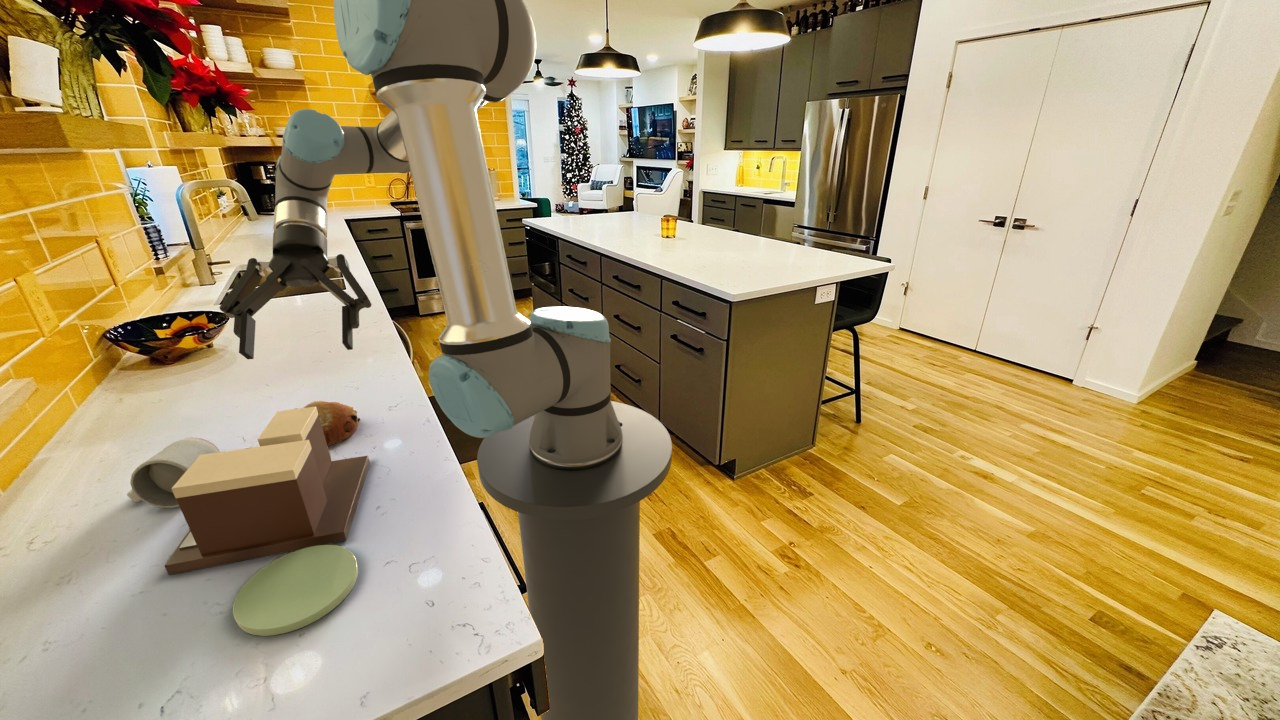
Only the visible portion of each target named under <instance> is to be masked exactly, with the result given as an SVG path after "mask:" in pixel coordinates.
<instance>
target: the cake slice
mask: <svg viewBox="0 0 1280 720" xmlns="http://www.w3.org/2000/svg"><path fill="white" fill-rule="evenodd" d="M303 440H309V441H310V445H311V448H312V451H313V455H314V458H315V461H316V465H317V468H318V471H319V475H320V478H321V481H322V485H323V483H324V480H325V478H326V475H327V473H328V471H329V468H330V466H331V464H332V461H333V460H332V456H331V454H330V451H329V446H327V443H326V440H325V436H324V433H323V429H322V426H321V422H320V419H319V415H318V411H317V408H316V407H308V408H303V407H301V408H293V409H285V410H278V411H276V413H275V414H274V415H273V416H272V418H271V420H270V421H269V422H268V423H267V425H266V427H265V428H264V429H263V431H262V432H261V433H260V435H259V437H258V438H257V442H258V445H259V447H260V446H267V445H275V444H282V443H289V442H296V441H303Z"/></svg>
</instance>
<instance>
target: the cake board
mask: <svg viewBox="0 0 1280 720" xmlns="http://www.w3.org/2000/svg"><path fill="white" fill-rule="evenodd" d="M331 461H332V464H331V466H330V468H329V471H328V473H327V475H326V478H325V480H324V483H323V488H324V491H325V495H326V498H327V502H326V505H325V508H324V510H323V513H322V515H321V518H320V520H319V523H318V526H317V528H316V531H315V533H314V535H309V536H304V537H298V538H293V539H288V540H282V541H277V542H272V543H267V544H261V545H256V546H251V547H245V548H240V549H235V550H229V551H224V552H219V553H213V554H208V555H203V556H202V555H201V553H200V551H199V549H198V547H191V548H186V549H179V547H180V546H181V544H182V543H183V541H184V540H185V539H186V537H187V536H188V534H189V533H190V532H191V531H190V529H189V530H188V531H187V533H186V534H185V536H184V537H183V539H182V540H181V541H180V543H179V544H178V546H177V547H176V548H175V550H174V551H173V552H172V554H171V555H170V557H169V558H168V560H167V561H166V562H165V564H164V568H165V571H166V573H167V574H168V575H169V576H172V575H177V574H181V573H186V572H191V571H197V570H203V569H207V568H212V567H217V566H222V565H223V566H224V565H228V564H232V563H237V562H238V563H239V562H243V561H247V560H253V559H259V558H263V557H268V556H274V555H279V554H284V553H285V554H286V553H291V552H294V551H297V550H300V549H303V548H307V547H311V546H317V545H332V544H335V543H341V542H346V541H348V537H349V534H350V530H351V528H352V524H353V520H354V517H355V513H356V511H357V507H358V504H359V501H360V497H361V495H362V491H363V488H364V484H365V482H366V478H367V474H368V471H369V467H370V464H371V461H370V458H369V455H362V456H355V457H350V458H349V457H347V458H342V459H336V460H331Z"/></svg>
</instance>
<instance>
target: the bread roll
mask: <svg viewBox="0 0 1280 720" xmlns="http://www.w3.org/2000/svg"><path fill="white" fill-rule="evenodd" d="M308 407H316V408H317V411H318V415H319V419H320V422H321V426H322V429H323V433H324V436H325V440H326V443H327V447H329V446H333V445H335V444H336V445H337V444H339V443H341V442H343V441H345V440H347V439H349V438H350V437H352V436H353V435H354V434H355V432H356V431H357V429H358V427H359V422H361V418H360V417H358V411H357V410H355V409H354V407H353V406H349V405H347V404H343V403H340V402H337V401H325V400H315V401H312V402H310V403H308V404H306V405H304V406H303V407H302V408H308Z"/></svg>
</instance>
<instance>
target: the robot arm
mask: <svg viewBox="0 0 1280 720" xmlns="http://www.w3.org/2000/svg"><path fill="white" fill-rule="evenodd" d="M333 19H334V27H335V33H336V38H337V42H338V45H339V48H340V50H341V53H342V55H343V56H344V58H345V59H346V62H347V64H348V65H349V66H350V67H351V69H353V70H355V71H356V72H358V73H361V75H365V76H371V80H372V83H373V87H374V90H375V95H376V98H377V100H378V101H379V102H380V103H382V104H383V105H384V106H385V107H387V108H388V109H389V110H390V112H389V113H388V114H387V115H386V116H385V117H384V118H383V119H382V120H381V121H380V122H379V123H378V124H377V125H376V126H354V125H353V126H351V125H340V124H339V122H338V121H336V120H335V119H334V118H333V117H331V116H330V115H329V114H327V113H322V112H318V110H317V109H311V108H303V109H299V110H297V111H294V112H293V113H292V114H291V115H290V116H289V118H288V121H287V123H286V125H285V128H284V131H283V134H282V144H281V155H279V156H278V158H277V160H276V161H277V162H276V166H275V171H274V179H275V189H274V191H275V193H274V194H275V195H274V198H275V199H274V213H273V227H272V228H273V234H272V257H271V259H270V260H269V261H260V260H258V259H257V258H255V257H250V258H249V259H247V265H246V269H245V271H244V272H243V274H242V275H241V276H240V278H239V280H238V281H237V282H236V283H235V285H234V286H233V288H232V289H231V290H230V292H229V293H228V295H226V297H225V299H224V300H223V301H222V303H221V304H220V306H219V310H220V311H221V312H222V313H223V314H224V315H225V316H227V317H228V318H230V319H234V320H233V334H234V335H235V336H237V338H238V339H239V343H238V344H239V347H238V353H239V354H240V355H241V356H243V358H245V359H246V360H254V359H255V358H254V356H255V341H256V339H255V338H256V323H257V321H256V319H254V318H253V317H254V316H255V314H256V313H258V312H259V311H260V310H261V309H262V308H263V307H264V306H265V305H266V304H267V303H268V302H270V301H271V300H272V299H273V298H274V297H275V296H276V295H277V294H278V293H280V292H283V291H285V289H287V288H288V287H290V288H299V287H302V286H303V287H314V285H316V284H319V285H320V286H321V287H322V288H324V289H325V290H327V291H328V292H329V293H330V294H331V295H332V296H334V297H335V298H336V299H337V300H339V302H341V303H342V304H343V305H342V306H341V340H342V341H341V343H342V345H343V346H344V347H345V348H346V350H347V351H351V350H353V349H354V340H353V339H354V338H353V332H354V331H353V330H356V329H359V327H360V311H361V310H362V309H365V308H366V309H370V308H371V307H372V305H373V304H372V302H371V300H370V299H369V297H368V295H367V294H366V292H365V291H364V289H363V287H361V285H360V282H358V281H357V279H356V277H355V276H354V274H353V273H352V272H351V269H350V263H349V262H348V260H347V258H346V256H345V255H344V254H343V253H339V254H337V255H336V257H334V258H333V257H332V258H328V199H329V198H328V197H329V191H330V188H331V185H332V183H333V180H334V178H335V176H341V175H366V174H371V175H372V174H408V173H410V175H411V179H412V183H413V187H414V191H415V197H416V199H417V203H418V207H419V213H420V215H421V219H422V224H423V228H424V232H425V236H426V240H427V244H428V249H429V252H430V256H431V261H432V264H433V269H434V272H435V277H436V280H437V285H438V289H439V293H440V297H441V301H442V305H443V309H444V313H445V316H446V317H445V318H446V321H447V324H446V326H445V327H444V329H443V330H442V331H441V333H440V335H439V336H438V342H439V347H440V350H441V354H442V355H440V356H437V357H436V358H435V359H434V360H433V361H431V363H430V364H429V368H428V370H429V372H428V381H429V386H430V388H431V391H432V395H433V396H434V398H435V400H436V402H437V404H438V405H439V407H440V409H441V411H442V412H443V413H444V415H445V416H446V417H447V418H448V419H449V420H450V421H451V423H452V424H453V425H454V426H455V427H456V428H458V429H459V430H460V431H462V432H463V433H464V434H466V435H468V436H471V437H474V438H478V439H484V438H485V437H489V436H492V435H494V434H496V433H498V432H501V431H503V430H509V429H511V428H512V427H513V426H514V425H516V424H518V423H520V422H522V421H524V420H526V419H528V418H530V417H532V416H533V415H535V417H534V421H533V425H532V428H531V432H530V438H529V445H530V452H531V455H532V456H533V458H534V459H535V460H536V461H537V462H539V463H540V464H542V465H544V466H547V467H549V468H553V469H557V470H565V471H578V470H586V469H591V468H594V467H598V466H600V465H603V464H605V463H607V462H609V461H610V460H612V459H613V458H614V457H615V456H616V455H617V454H618V453H619V452H620V450H621V448H622V430H621V427H622V423H620V422H619V421H618V419H617V416H616V413H615V411H614V408H613V406H612V403H611V401H612V396H611V395H612V394H611V393H612V392H611V387H612V386H611V384H612V383H611V343H612V338H610V326H609V322H608V319H607V317H605V316H604V315H603V314H601V313H600V312H599V311H595V310H591V309H588V308H583V307H574V306H546V307H540V308H536V309H534V310H533V311H531V313H530V315H529V318H528V317H526V316H525V315H523V314H521V313H520V312H519V311H518V309H517V306H516V305H517V304H516V300H515V296H514V291H513V285H512V281H511V276H510V271H509V267H508V260H507V256H506V251H505V247H504V242H503V237H502V232H501V231H502V230H501V226H500V221H499V216H498V212H497V211H498V210H497V206H496V201H495V195H494V192H493V187H492V182H491V177H490V172H489V167H488V162H487V157H486V152H485V148H484V143H483V137H482V133H481V127H480V123H479V117H478V113H477V111H478V110H479V109H481V108H482V107H483V106H484V105H486V104H487V103H489V104H490V103H491V104H492V103H493V104H495V103H500V102H502V101H503V100H505V99H506V98H508V97H509V96H510V95H511V94H513V93H514V92H515V91H516V90H518V89H519V88H520V87H521V86H522V84H523V83H524V82H525V81H526V79H527V78H528V76H529V74H530V73H531V70H532V69H533V66H534V63H535V58H536V52H537V34H536V29H535V24H534V21H533V18H532V16H531V13H530V11H529V8H528V6H527V5H526V2H524V0H333ZM331 268H333V269H334V270H335V271H336V272H339V273H341V274H342V275H341V276H343V278H344V279H345V281H346V282H347V284H348V286H349V287H350V289H351V290H352V291H353V293H354V294H355V296H356V297H357V298H354V297H352V296H350V294H348V293H347V292H346V291H345V290H344V289H343V288H341V287H340V286H339V285H337V284H336V283H335V282H334V281H333V280H332V279H331V278H330V277H328V276H327V275H326V274H327V273H328V271H329V270H330V269H331ZM268 271H271V272H270V273H269V274H268V275H267V272H268ZM263 277H265V280H264V281H263V282H262V283H261V281H262V279H263ZM260 283H261V284H260ZM259 284H260V285H259Z"/></svg>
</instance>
